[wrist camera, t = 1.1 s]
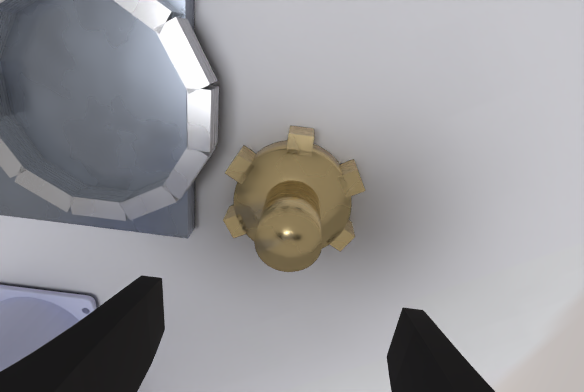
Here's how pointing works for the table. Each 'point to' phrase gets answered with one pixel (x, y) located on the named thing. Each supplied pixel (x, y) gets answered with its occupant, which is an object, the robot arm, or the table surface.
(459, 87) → the table surface
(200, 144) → the carrier plate
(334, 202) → the planet gear
